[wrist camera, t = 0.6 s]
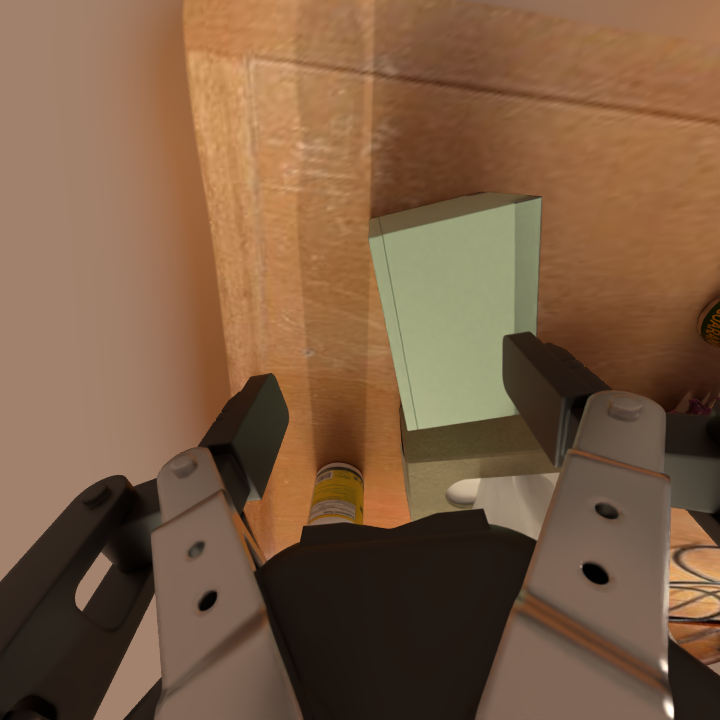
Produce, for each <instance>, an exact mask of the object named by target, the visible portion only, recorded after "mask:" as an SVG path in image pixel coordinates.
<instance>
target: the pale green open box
mask: <svg viewBox="0 0 720 720" xmlns="http://www.w3.org/2000/svg"><path fill="white" fill-rule="evenodd" d="M541 215H542V196H531V195H518V194H506V193H494V192H478V193H474V194H470V195H466V196H462V197H458V198H454V199H450V200H446V201H442V202H438V203H433V204H429V205H425V206H421V207H417V208H413V209H409V210H405V211H401V212H397V213H393V214H389V215H384V216H380V217H376V218H372V219H370V220H369V236H368V240H369V245H370V250H371V255H372V260H373V264H374V269H375V274H376V279H377V284H378V289H379V294H380V299H381V304H382V309H383V314H384V318H385V323H386V328H387V333H388V338H389V343H390V348H391V353H392V358H393V363H394V367H395V372H396V377H397V382H398V387H399V392H400V397H401V402H402V407H403V412H404V416H405V421H406V426H407V430H408V431H410V430H417V429H425V428H432V427H438V426H445V425H451V424H458V423H465V422H471V421H478V420H485V419H491V418H498V417H505V416H511V415H519V414H520V413H519V412H518V410H517V409H516V407H515V406H514V404H513V402H512V401H511V399H510V398H509V396H508V395H507V393H506V391H505V388H504V384H503V378H502V342H503V337H504V336H505V335H508V334H515V333H521V332H527V331H530V332H531V333H532V334H534V335H535V336H536V337H537V313H538V289H539V264H540V240H541Z"/></svg>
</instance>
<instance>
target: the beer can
mask: <svg viewBox="0 0 720 720" xmlns="http://www.w3.org/2000/svg"><path fill="white" fill-rule="evenodd" d="M697 328H698V332H699V333H700V335H701V336H702V338H703V339H704V341H705V342H707V343H709V344H711V345H713V346H715V347H717V348H720V297H718V298H717V299H715V300H714V301H712V302H711V303H710V304H709V305H708V306H707V307H706V308H705V309H704V310H703V312H702V313H701V315H700V316H699V319H698V323H697Z"/></svg>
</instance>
